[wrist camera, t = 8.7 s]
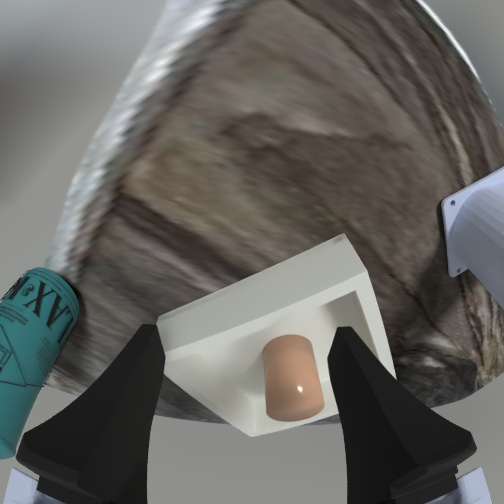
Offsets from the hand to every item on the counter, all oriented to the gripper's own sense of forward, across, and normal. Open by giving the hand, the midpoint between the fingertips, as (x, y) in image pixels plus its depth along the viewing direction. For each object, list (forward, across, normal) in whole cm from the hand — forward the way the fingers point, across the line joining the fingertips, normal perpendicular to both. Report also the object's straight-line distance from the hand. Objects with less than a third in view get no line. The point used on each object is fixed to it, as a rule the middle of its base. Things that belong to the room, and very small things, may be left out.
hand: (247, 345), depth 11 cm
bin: (+9, -4, +10) cm, 15 cm away
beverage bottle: (+10, +17, +5) cm, 20 cm away
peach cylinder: (+9, -4, +11) cm, 14 cm away
